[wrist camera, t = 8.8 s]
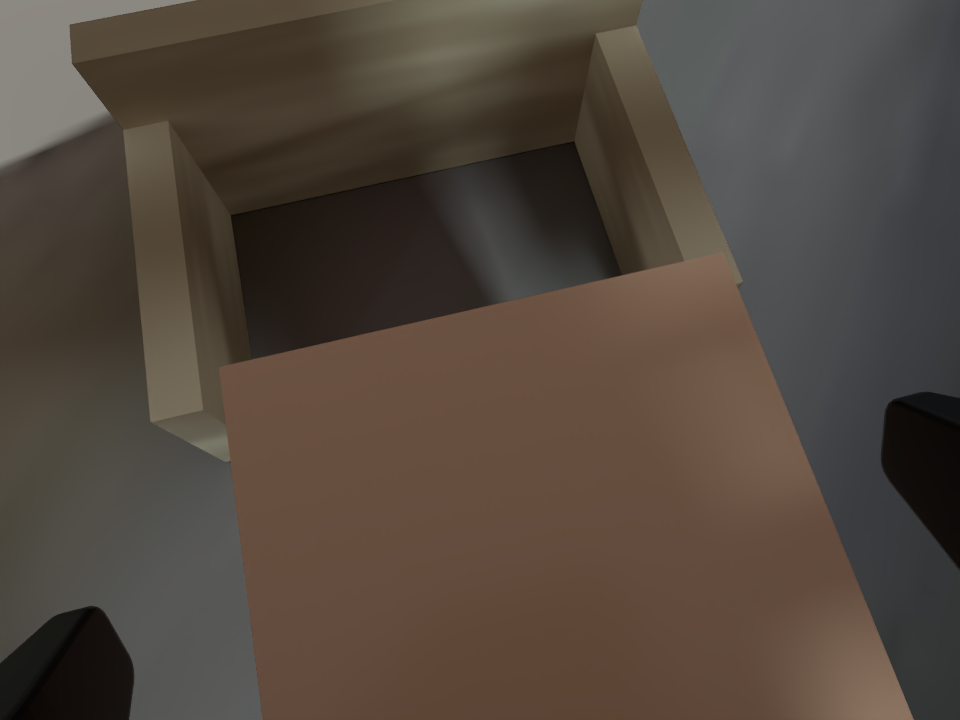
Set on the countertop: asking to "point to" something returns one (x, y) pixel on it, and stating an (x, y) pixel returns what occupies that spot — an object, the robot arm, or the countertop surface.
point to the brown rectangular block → (546, 519)
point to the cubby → (362, 140)
